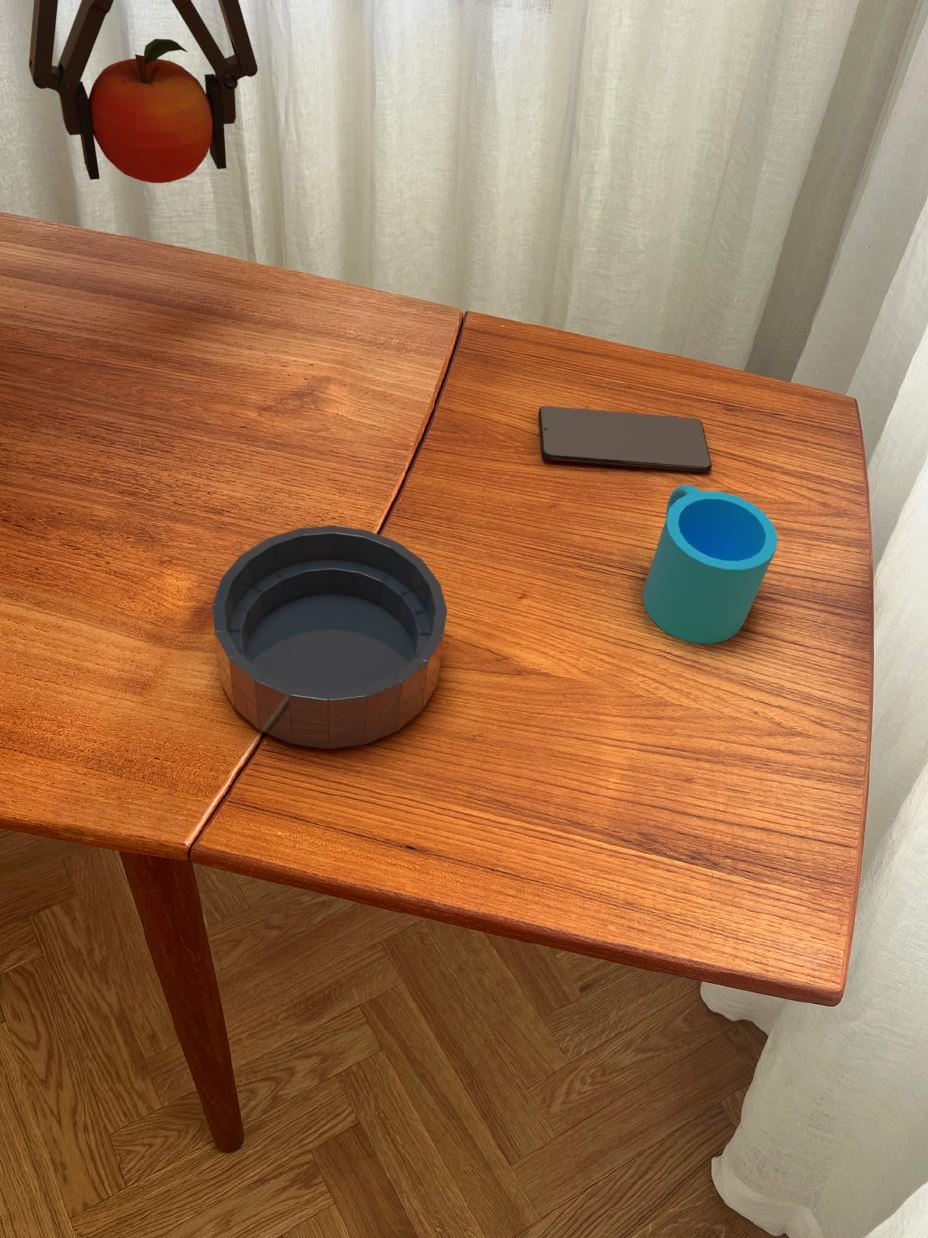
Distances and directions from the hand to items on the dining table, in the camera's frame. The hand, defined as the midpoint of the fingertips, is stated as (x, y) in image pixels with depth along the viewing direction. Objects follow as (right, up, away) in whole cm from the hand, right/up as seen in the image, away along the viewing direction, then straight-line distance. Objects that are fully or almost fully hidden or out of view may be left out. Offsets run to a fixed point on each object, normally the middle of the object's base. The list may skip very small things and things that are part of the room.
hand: (156, 165), depth 91 cm
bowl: (+16, -40, -12) cm, 45 cm away
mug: (+43, -35, -3) cm, 55 cm away
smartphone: (+39, -22, +8) cm, 46 cm away
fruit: (0, 0, 0) cm, 1 cm away
